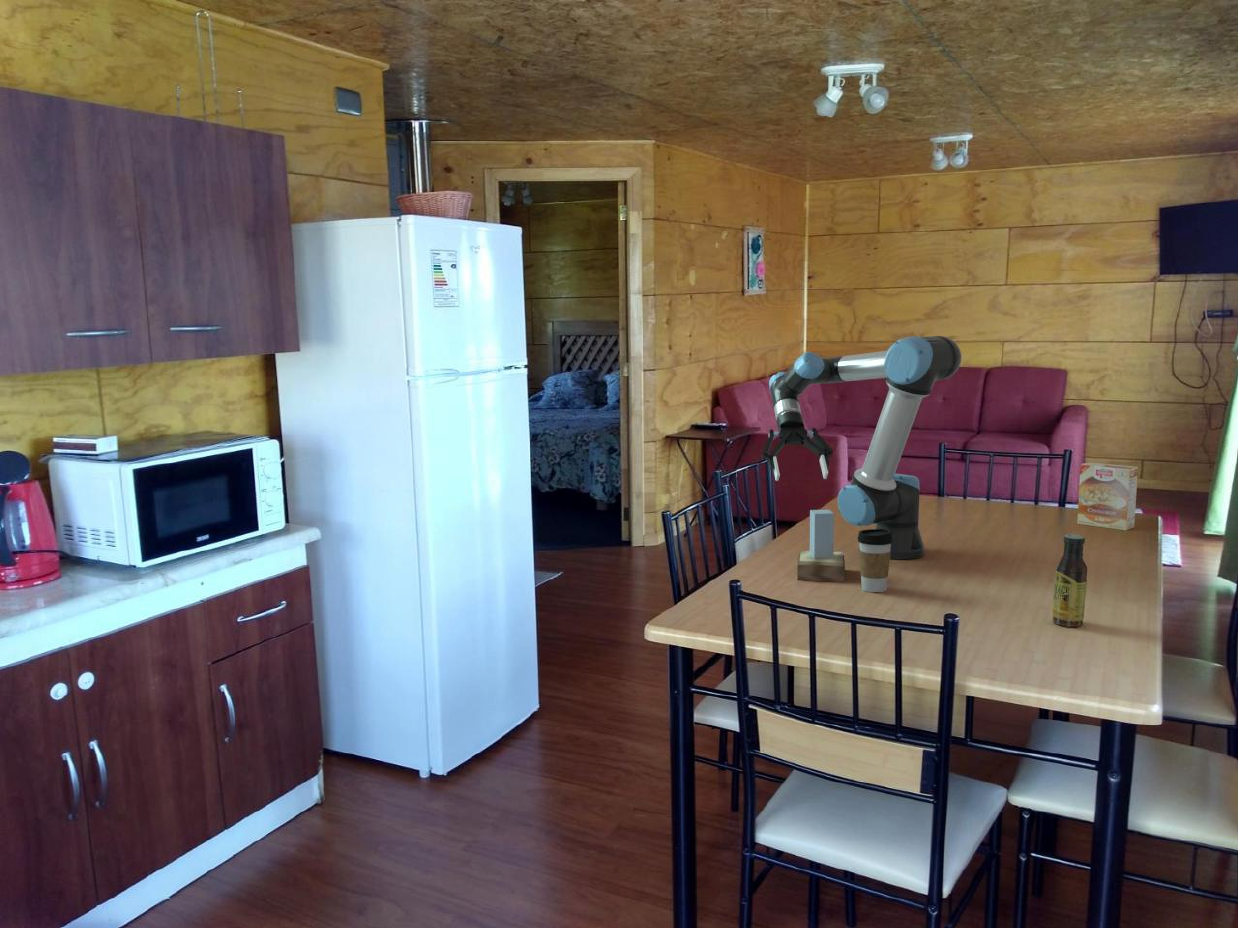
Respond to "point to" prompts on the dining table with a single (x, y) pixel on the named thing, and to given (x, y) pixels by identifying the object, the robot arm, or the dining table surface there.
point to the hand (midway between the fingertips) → (801, 477)
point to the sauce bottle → (1070, 584)
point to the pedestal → (821, 567)
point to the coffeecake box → (1107, 495)
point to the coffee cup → (874, 558)
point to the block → (821, 534)
